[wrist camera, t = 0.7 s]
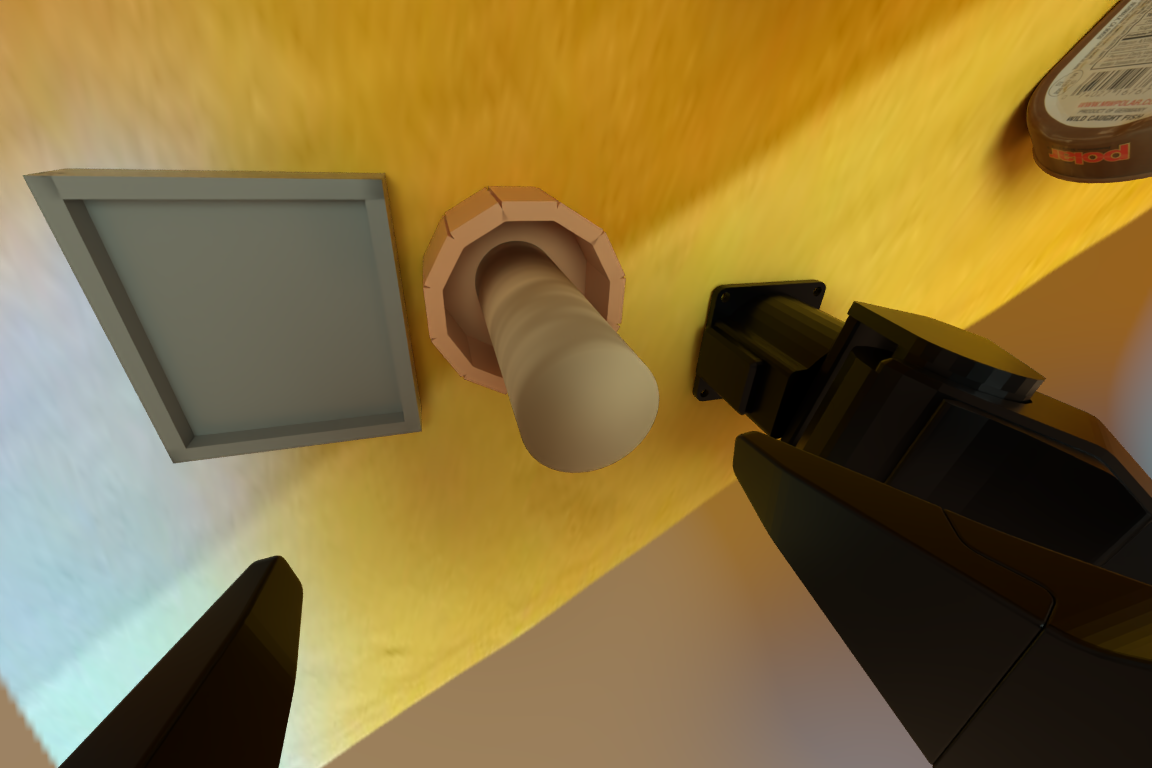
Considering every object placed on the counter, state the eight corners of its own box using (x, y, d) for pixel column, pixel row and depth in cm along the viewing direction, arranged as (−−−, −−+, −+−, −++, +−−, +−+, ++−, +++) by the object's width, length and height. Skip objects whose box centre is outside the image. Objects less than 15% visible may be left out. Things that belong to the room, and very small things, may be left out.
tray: (385, 173, 16) (381, 179, 15) (421, 408, 21) (421, 431, 20) (65, 168, 14) (22, 175, 12) (192, 435, 19) (173, 463, 17)
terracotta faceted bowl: (600, 187, 18) (633, 201, 16) (589, 347, 22) (615, 382, 19) (413, 185, 16) (411, 201, 14) (435, 361, 20) (438, 402, 17)
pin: (557, 239, 18) (668, 343, 10) (555, 318, 20) (649, 461, 12) (472, 241, 17) (518, 357, 9) (477, 323, 19) (521, 482, 11)
